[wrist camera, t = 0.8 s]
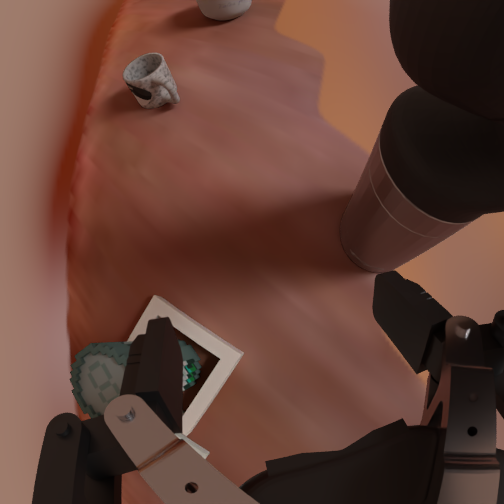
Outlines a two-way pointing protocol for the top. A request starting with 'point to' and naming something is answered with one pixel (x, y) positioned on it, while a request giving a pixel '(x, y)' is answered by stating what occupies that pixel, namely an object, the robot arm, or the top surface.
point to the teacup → (223, 8)
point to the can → (114, 373)
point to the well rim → (203, 338)
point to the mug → (151, 81)
